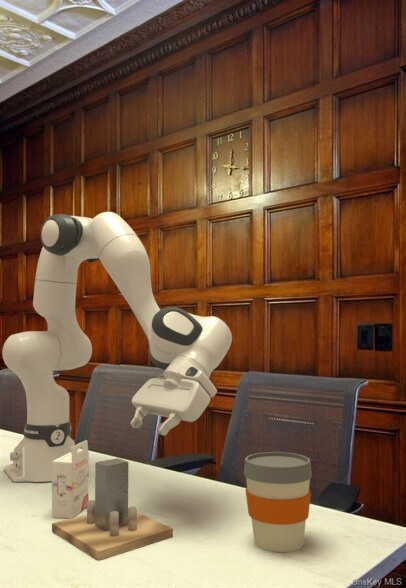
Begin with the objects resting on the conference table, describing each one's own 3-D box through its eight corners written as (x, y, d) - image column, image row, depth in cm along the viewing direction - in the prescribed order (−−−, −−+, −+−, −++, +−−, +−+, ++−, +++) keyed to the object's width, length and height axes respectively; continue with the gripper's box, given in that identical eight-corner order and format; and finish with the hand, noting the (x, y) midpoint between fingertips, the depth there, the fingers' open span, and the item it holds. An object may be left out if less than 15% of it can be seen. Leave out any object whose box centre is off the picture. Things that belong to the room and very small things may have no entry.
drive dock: (51, 531, 105) (52, 502, 105) (121, 512, 115) (121, 486, 116) (98, 560, 91) (98, 527, 92) (172, 536, 102) (172, 506, 102)
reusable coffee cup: (326, 551, 95) (324, 464, 96) (260, 560, 91) (259, 470, 92) (294, 526, 107) (293, 449, 108) (234, 533, 103) (234, 454, 104)
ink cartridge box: (68, 504, 121) (69, 438, 122) (89, 506, 120) (89, 439, 121) (50, 517, 113) (51, 446, 114) (72, 519, 112) (73, 447, 113)
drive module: (94, 525, 104) (95, 462, 104) (117, 519, 107) (117, 458, 108) (105, 531, 101) (105, 466, 101) (128, 525, 104) (128, 461, 105)
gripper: (148, 366, 124) (110, 413, 117) (206, 371, 108) (167, 426, 101) (163, 384, 126) (128, 432, 119) (222, 392, 111) (185, 447, 104)
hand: (146, 429), depth 110 cm, fingers open, 8 cm apart
